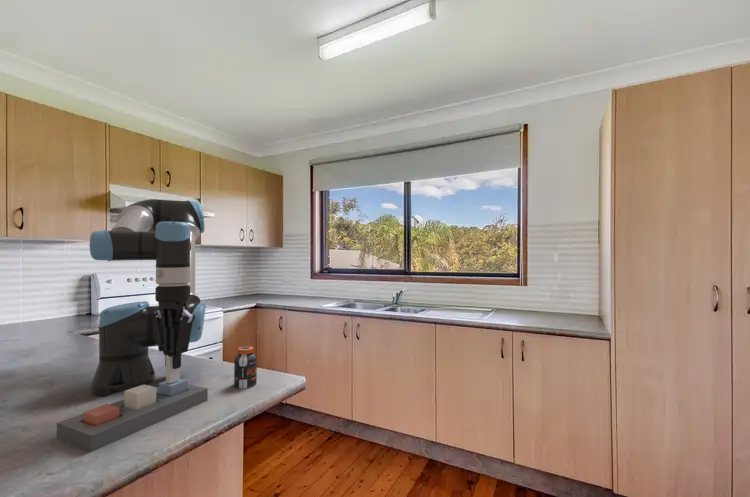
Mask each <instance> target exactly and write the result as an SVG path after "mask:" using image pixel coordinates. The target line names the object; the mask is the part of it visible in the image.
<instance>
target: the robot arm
mask: <svg viewBox="0 0 750 497" xmlns="http://www.w3.org/2000/svg"><path fill="white" fill-rule="evenodd" d="M203 210H204V209H203V205H202V204H201V203H200V202H198V201H193V200H192V201H191V200H174V199H157V198H155V199H153V198H151V199H150V198H149V199H144V200H139V201H137V202H134V203H131V204H129V205H128V206H126V207H125V208H124V209H122V210H121V212H120V214H119V216H118V221H117V222H116V223H115V224H114V225H113V227H112V228H111V229H110V230H107V229H104V230H95V231H93V232H92V233H91V234H90V238H89V253H90V256H91V258H92V259H93V260H94V261H95V260H96V261H108V262H113V261H115V262H116V261H118V262H119V261H121V262H122V261H155V283H156V285H157V286H156V287H155V288H154V289H155V290H154V291H155V294H154V295H155V296H154V297H155V301H156V302H157V304H158V305H152V306H150V303H149V301H136V302H129V303H127V302H126V303H123V304H122V303H121V304H118V305H113V306H109V307H107V308H105V309H103V310H102V311H101V312H100V313H99V314H100V315H99V322H98V323H99V324H98V327H97V328H98V343H99V344H98V351H99V352H98V354H99V355H98V364H97V368H96V370H95V372H94V375H93V378H92V380H91V384H90V392H91V394H92V395H94V396H104V397H107V396H111V395H114V394H117V393H120V392H124V391H126V390H129V389H132V388H135V387H138V386H141V385H149V384H151V383H153V382H154V381H156V372H155V369H154V366H153V364H152V362H151V358H150V356H149V347H151V348H152V347H157V348H158V351H159V352H163V355H164V358H165V359H164V365H165V381H166V383H173V382H175V381H178V380H180V379H181V366H182V354H184V353H187V352H188V351H189V345H190V343H195V342H198V341H200V340H201V338H202V336H203V330H204V325H205V324H204V323H205V314H206V304H205V303H203V302H201V298H200V297H199V296H198V295H197V294H196V240H198V239H199V238H200V236H201V234H203V233H204V232H205V218H204V211H203Z"/></svg>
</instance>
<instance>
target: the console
mask: <svg viewBox="0 0 750 497" xmlns="http://www.w3.org/2000/svg"><path fill="white" fill-rule="evenodd" d="M208 400H209V399H208V388H207V387H202V386H199V385H194V384H190V383H187V391H185V392H183V393H180V394H177V395H175V396H172V397H167V396H163V395H159V386H157V387H156V403H154V404H152V405H149V406H147V407H144V408H141V409H139V410H136V411H135V410H132V409H129V408H125V407H124V398H123V399H121V400H118V401H116V402H112V403H109V404H108V405H112V406H115V407H119V417H118V418H116V419H113V420H111V421H108V422H105V423H103V424H100V425H98V426H95V427H94V426H91V425H89V424H86V423H83V413H81V414H78V415H74V416H73V417H70V418H67V419H64V420H61V421H58V422H56V439H58V440H60V441H63V442H65V443H69V444H70V445H73V446H76V447H78V448H81V449H83V450H86V451H88V452H91V453H92V452H94V451H97V450H99V449H101V448H103V447H106V446H107V445H111V444H112V443H114V442H117V441H119V440H121V439H124V438H126V437H128V436H131V435H133V434H135V433H138V432H139V431H142V430H144V429H146V428H148V427H151V426H154V425H156V424H158V423H161V422H163V421H165V420H167V419H169V418H171V417H174V416H177V415H178V414H181V413H183V412H185V411H187V410H190V409H191V408H194V407H196V406H198V405H201V404H203V403H205V402H208Z"/></svg>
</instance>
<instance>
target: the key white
mask: <svg viewBox="0 0 750 497" xmlns="http://www.w3.org/2000/svg"><path fill="white" fill-rule="evenodd" d="M156 388H157V387H156V386H152V385H149V384H147V385H141V386H138V387H135V388H132V389H129V390H126V391H123V392H124V394H123V395H124V396H123V397H124V398H123V399H124V407H125V408H129V409H132V410H135V411H136V410H139V409H141V408H144V407H147V406H149V405H152V404H154V403H156Z"/></svg>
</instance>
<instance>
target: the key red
mask: <svg viewBox="0 0 750 497" xmlns="http://www.w3.org/2000/svg"><path fill="white" fill-rule="evenodd" d="M82 414H83V423H86V424H89V425H91V426H94V427H95V426H98V425H100V424H103V423H105V422H108V421H111V420H113V419H116V418H118V417H119V407H115V406H112V405H109V404H108V403H106V404H103V405H100V406H97V407H94V408H92V409H89V410H86V411H84V412H83V413H82Z"/></svg>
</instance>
